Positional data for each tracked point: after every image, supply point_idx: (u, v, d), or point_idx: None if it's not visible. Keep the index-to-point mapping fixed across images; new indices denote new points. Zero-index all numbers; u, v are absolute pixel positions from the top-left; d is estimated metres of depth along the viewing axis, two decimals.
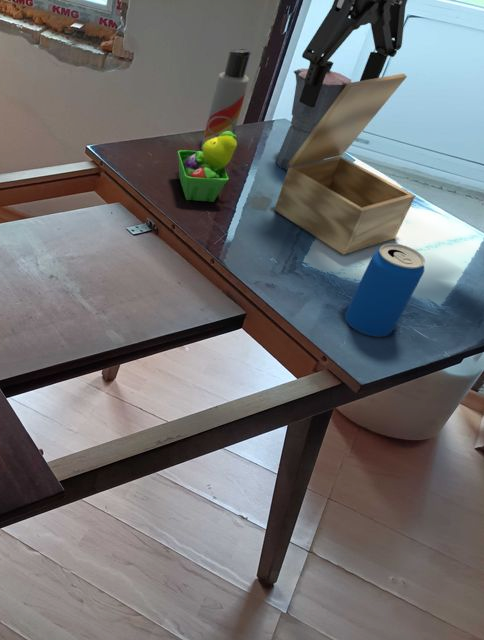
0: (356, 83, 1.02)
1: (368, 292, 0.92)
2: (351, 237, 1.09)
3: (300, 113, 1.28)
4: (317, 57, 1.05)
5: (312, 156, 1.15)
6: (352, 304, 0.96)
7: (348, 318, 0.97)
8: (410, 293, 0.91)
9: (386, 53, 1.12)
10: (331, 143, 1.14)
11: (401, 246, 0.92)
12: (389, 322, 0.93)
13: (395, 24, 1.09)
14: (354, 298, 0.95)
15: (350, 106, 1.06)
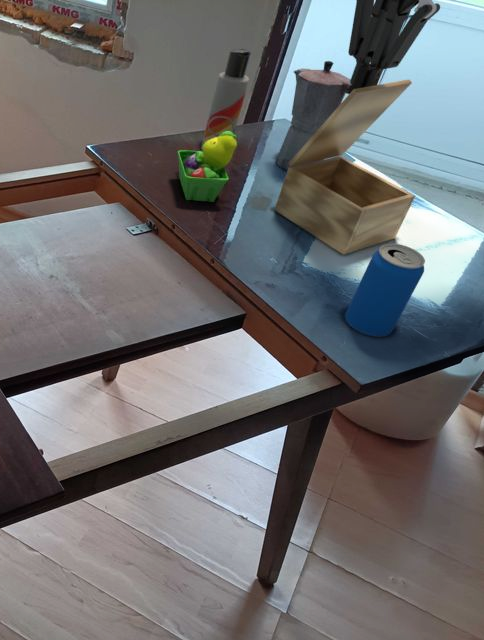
0: (361, 89, 1.02)
1: (368, 292, 0.92)
2: (351, 237, 1.09)
3: (300, 113, 1.28)
4: None
5: (312, 157, 1.15)
6: (352, 304, 0.96)
7: (348, 318, 0.97)
8: (410, 293, 0.91)
9: None
10: (332, 144, 1.14)
11: (401, 246, 0.92)
12: (389, 322, 0.93)
13: (368, 20, 1.03)
14: (354, 298, 0.95)
15: (354, 111, 1.06)
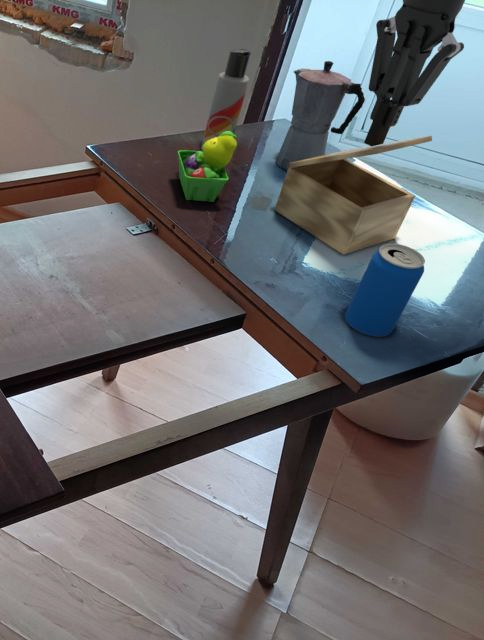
0: (383, 149, 1.01)
1: (368, 292, 0.92)
2: (351, 237, 1.09)
3: (300, 113, 1.28)
4: None
5: None
6: (352, 304, 0.96)
7: (348, 318, 0.97)
8: (410, 293, 0.91)
9: (393, 94, 1.04)
10: None
11: (401, 246, 0.92)
12: (389, 322, 0.93)
13: (389, 56, 1.02)
14: (354, 298, 0.95)
15: None
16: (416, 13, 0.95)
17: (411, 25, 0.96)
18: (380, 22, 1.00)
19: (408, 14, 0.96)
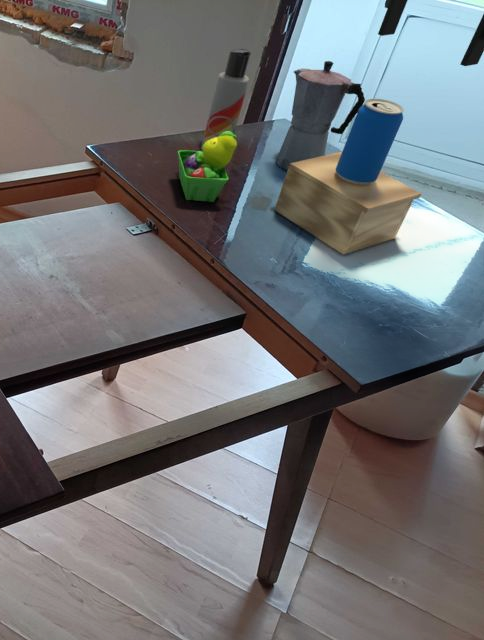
0: (373, 209, 1.05)
1: (355, 141, 1.07)
2: (351, 237, 1.09)
3: (300, 113, 1.28)
4: None
5: None
6: (341, 156, 1.10)
7: (338, 169, 1.11)
8: (391, 139, 1.05)
9: None
10: None
11: (383, 101, 1.06)
12: (373, 168, 1.08)
13: None
14: (343, 150, 1.10)
15: None
16: None
17: None
18: None
19: None
